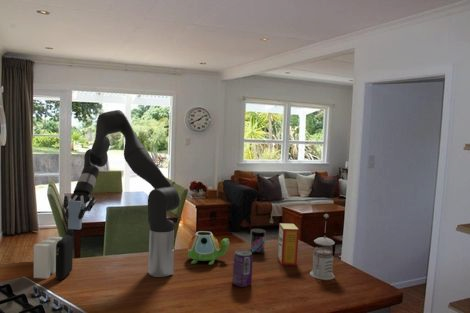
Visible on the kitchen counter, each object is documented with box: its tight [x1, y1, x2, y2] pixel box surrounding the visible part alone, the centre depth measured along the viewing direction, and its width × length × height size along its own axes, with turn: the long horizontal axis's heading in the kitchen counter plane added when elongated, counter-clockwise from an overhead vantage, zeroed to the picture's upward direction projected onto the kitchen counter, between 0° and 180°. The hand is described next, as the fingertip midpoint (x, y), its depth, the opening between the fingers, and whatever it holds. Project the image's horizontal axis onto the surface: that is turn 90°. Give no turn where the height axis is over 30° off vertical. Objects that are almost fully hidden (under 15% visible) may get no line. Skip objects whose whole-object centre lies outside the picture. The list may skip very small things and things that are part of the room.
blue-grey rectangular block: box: [67, 199, 83, 230], centre depth 162 cm, size 2×5×12 cm, turn 88°
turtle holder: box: [187, 230, 230, 265], centre depth 162 cm, size 12×18×12 cm
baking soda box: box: [277, 222, 300, 266], centre depth 165 cm, size 10×6×16 cm
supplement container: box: [249, 228, 266, 255], centre depth 175 cm, size 7×7×10 cm
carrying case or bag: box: [55, 234, 74, 281], centre depth 137 cm, size 11×3×15 cm, turn 1°
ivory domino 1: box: [33, 243, 51, 280], centre depth 136 cm, size 2×5×12 cm, turn 89°
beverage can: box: [231, 249, 254, 288], centre depth 139 cm, size 7×7×12 cm
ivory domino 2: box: [46, 236, 63, 242], centre depth 145 cm, size 2×5×12 cm, turn 89°
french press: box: [309, 213, 336, 281], centre depth 150 cm, size 10×12×25 cm
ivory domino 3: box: [40, 239, 57, 275], centre depth 141 cm, size 2×5×12 cm, turn 89°
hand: (73, 217), depth 160 cm, fingers closed on blue-grey rectangular block, 5 cm apart
